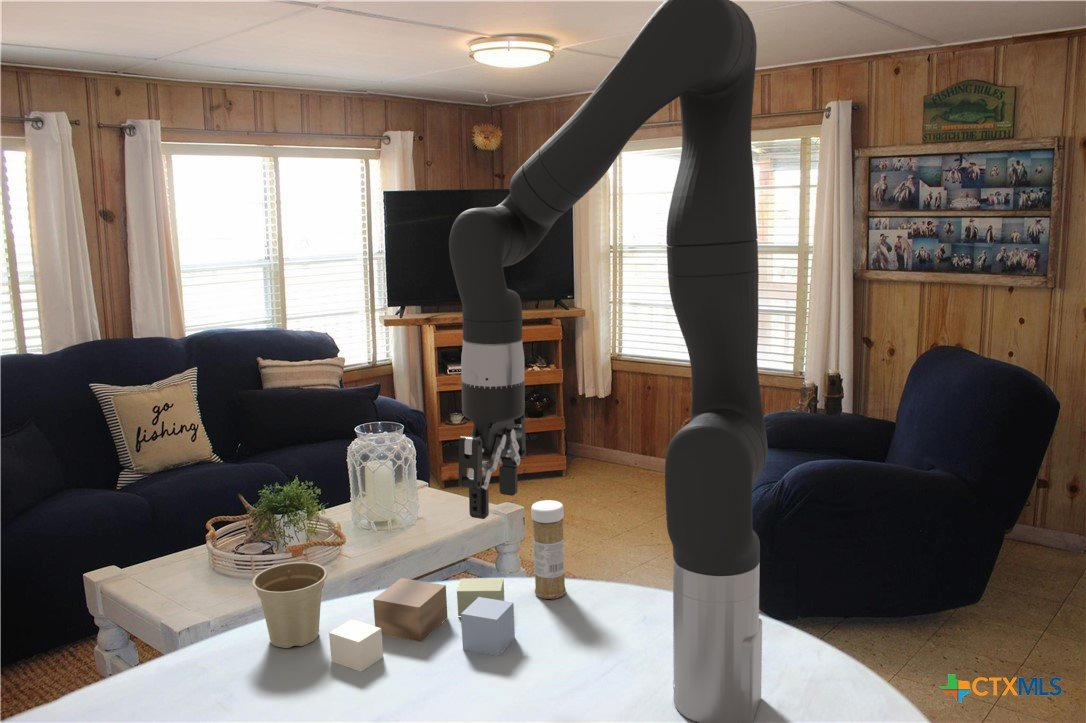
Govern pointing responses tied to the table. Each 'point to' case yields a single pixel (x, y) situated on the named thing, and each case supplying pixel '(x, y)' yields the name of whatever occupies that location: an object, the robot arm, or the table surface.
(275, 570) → the flower pot
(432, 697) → the table surface
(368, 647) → the cream block
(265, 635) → the table surface
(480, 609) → the slate block
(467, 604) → the olive block
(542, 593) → the sprinkles bottle
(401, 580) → the walnut block
